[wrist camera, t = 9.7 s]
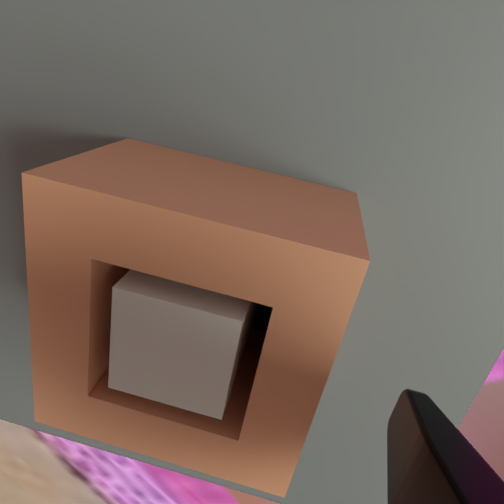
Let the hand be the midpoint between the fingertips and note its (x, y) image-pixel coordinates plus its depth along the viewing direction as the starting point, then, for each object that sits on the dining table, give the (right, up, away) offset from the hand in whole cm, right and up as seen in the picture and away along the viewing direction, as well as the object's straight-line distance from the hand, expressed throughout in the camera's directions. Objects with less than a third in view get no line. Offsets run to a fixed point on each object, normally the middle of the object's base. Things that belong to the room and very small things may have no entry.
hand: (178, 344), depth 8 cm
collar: (+1, +1, +3) cm, 4 cm away
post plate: (+1, +2, +4) cm, 5 cm away
